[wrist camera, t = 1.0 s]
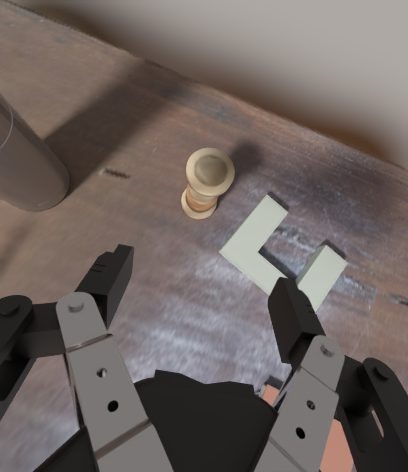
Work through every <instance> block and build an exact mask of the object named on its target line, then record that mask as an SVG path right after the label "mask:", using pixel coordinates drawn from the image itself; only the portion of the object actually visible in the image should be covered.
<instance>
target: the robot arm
mask: <svg viewBox="0 0 408 472" xmlns="http://www.w3.org/2000/svg"><path fill="white" fill-rule="evenodd" d="M69 186H70V177H69V173H68V170H67V168H66V167H65V166H64V164H63V163H62V162H61V161H60V160H59V158H58V157H57V156H56V155H55V154H54V153H53V152H52V150H51V149H50V148H49V147H48V146H47V145H46V144H45V143H44V141H43V140H42V139H41V138H40V137H39V136H38V135H37V134H36V133H35V131H34V130H33V129H32V128H31V127H30V126H29V125H28V124H27V123H26V121H25V120H24V119H23V118H22V117H21V116H20V115H19V114H18V112H17V111H16V110H15V109H14V108H13V107H12V106H11V105H10V104H9V102H8V101H7V100H6V99H5V98H4V97H3V96H2V95H1V94H0V199H1V200H3V201H5V202H8V203H10V204H12V205H14V206H16V207H18V208H20V209H23V210H26V211H43V210H47V209H49V208H51V207H53V206H55V205H57V204H58V203H59V202H60V201H61V200H62V199H63V198H64V197H65V195H66V193H67V192H68V189H69ZM133 255H134V247H131V246H126V245H121V244H119V245H118V246H117V248H116V250H115V251H114V253H112V252H105V253H103V254H102V255H100V256H99V257H98V258H97V260H96V261H95V262H94V265H92V267H91V268H90V271H88V273H87V274H86V275H85V277H84V278H83V280H82V281H81V283H80V284H79V286H78V287H77V289H76V290H75V291H74V292H73V293H70V294H67V295H65V296H64V297H62V298H61V299H60V300H59V301H58V302H55V303H45V304H32V301H31V299H29V298H28V297H26V296H22V295H12V296H7V297H4V298H1V299H0V421H1V419H2V417H3V416H4V414H5V412H6V410H7V409H8V407H9V405H10V404H11V402H12V400H13V398H14V397H15V395H16V393H17V392H18V390H19V388H20V386H21V385H22V383H23V381H24V380H25V378H26V376H27V374H28V373H29V371H30V369H31V368H32V366H33V364H34V362H35V361H36V359H37V358H39V357H46V356H53V355H60V354H62V356H63V360H64V364H65V369H66V373H67V377H68V381H69V386H70V390H71V395H72V400H73V405H74V410H75V415H76V419H77V423H78V428H79V430H78V431H77V432H76V433H75V434H74V435H73V436H72V437H71V438H70V439H68V440H67V441H66V442H65V443H64V444H63V445H62V446H61V447H60V448H59V449H57V450H56V451H55V452H54V453H53V454H52V455H51V456H50V457H49V458H47V459H46V460H45V461H44V462H43V463H42V464H41V465H40V466H39V467H38V468H36V469H35V470H34V471H33V472H321V470H320V465H321V461H322V458H323V454H324V450H325V447H326V443H327V439H328V436H329V432H330V428H331V425H332V421H333V418H334V414H335V410H337V413H338V416H339V419H340V422H341V425H342V428H343V431H344V434H345V437H346V440H347V443H348V446H349V449H350V452H351V455H352V458H353V461H354V464H355V467H356V470H357V472H408V395H407V393H406V391H405V390H404V388H403V386H402V385H401V383H400V381H399V380H398V378H397V376H396V375H395V373H394V372H393V371H392V370H391V369H390V368H389V367H388V366H387V365H386V364H384V363H383V362H381V361H379V360H377V359H375V358H366V359H365V360H364V361H363V362H362V363H361V362H359V361H356V360H354V359H352V358H350V357H348V356H346V355H344V353H343V351H342V349H341V348H340V346H339V345H338V344H337V343H336V342H335V341H333V340H332V339H330V338H328V337H326V335H325V333H324V330H323V328H322V326H321V324H320V322H319V320H318V317H317V315H316V314H315V311H314V309H313V307H312V304H311V302H310V300H309V298H308V297H307V296H306V294H305V293H304V292H303V291H302V290H299V289H298V286H297V284H296V282H295V280H294V279H289V278H284V277H279V278H278V280H277V282H276V284H275V286H274V288H273V290H272V292H271V294H270V296H269V298H268V309H269V313H270V317H271V321H272V325H273V329H274V333H275V337H276V341H277V345H278V349H279V353H280V357H281V361H282V363H287V364H291V367H292V369H291V370H290V372H289V374H288V376H287V377H286V379H285V381H284V383H283V385H282V387H281V389H280V391H279V393H278V395H277V397H276V399H275V400H274V402H273V404H272V406H271V405H270V404H269V403H268V402H267V401H265V400H264V399H263V398H261V397H259V396H258V395H256V394H254V388H253V385H250V384H244V383H237V382H231V381H228V382H220V383H212V384H203V383H201V382H198V381H196V380H194V379H192V378H189V377H187V376H185V375H183V374H180V373H174V372H168V371H162V370H156V371H155V375H154V377H153V378H147V379H143V380H140V381H138V382H135V383H133V382H132V379H131V377H130V375H129V372H128V370H127V367H126V365H125V363H124V360H123V358H122V355H121V353H120V351H119V348H118V346H117V343H116V341H115V339H114V337H113V335H112V334H108V332H107V330H108V328H109V326H110V324H111V321H112V319H113V317H114V315H115V312H116V310H117V308H118V305H119V303H120V301H121V299H122V296H123V294H124V292H125V290H126V287H127V285H128V283H129V280H130V277H131V273H132V266H133ZM373 410H375V412H376V415H377V417H378V419H379V421H380V423H381V426H382V428H383V432H384V438H383V437H382V435H381V433H380V430H379V428H378V426H377V424H376V421H375V419H374V417H373V415H372V412H371V411H373Z"/></svg>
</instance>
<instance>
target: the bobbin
mask: <svg viewBox="0 0 408 472" xmlns="http://www.w3.org/2000/svg"><path fill="white" fill-rule="evenodd" d="M234 175H235V169H234V165H233V163H232V161H231V159H230V158H229V157H228V156H227V155H226V154H225V153H224V152H222V151H220V150H218V149H215V148H203V149H200V150H198V151H196V152H195V153H193V154H192V155H191V157H190V158H189V160H188V163H187V167H186V179H187V182H188V186H187V189H186V190H185V191H184V193H183V195H182V200H181V206H182V209H183V211H184V212H185V214H186V215H187V216H189V217H190V218H192V219H196V220H202V219H206V218H208V217H209V216H210V215H211V214H212V213H213V212H214V210H215V208H216V205H217V199H218V196H219V195H221V194H223V193H224V192H225V191H226V190H227V189H228V188H229V187H230V185H231V183H232V182H233V179H234Z"/></svg>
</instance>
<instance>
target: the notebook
mask: <svg viewBox="0 0 408 472" xmlns="http://www.w3.org/2000/svg"><path fill="white" fill-rule="evenodd" d="M279 391H280V390H278V389H276V388H274V387H272V386H270V385H268V384H267V386H266V385H264V384H263V386H262V388H261V391H260V393H259V397H261V398H263V399H264V400H265V401H267V402H268V403H269V404H270V405H271V406H272V404H273V402H274V400H275V399H276V397H277V395H278V393H279ZM353 462H354V461H353V458H352V455H351V452H350V449H349V446H348V443H347V440H346V437H345V434H344V431H343V428H342V425H341V422H340V421H338V420H336V419H334V418H333V421H332V425H331V428H330V432H329V436H328V439H327V443H326V447H325V450H324V454H323V458H322V461H321V465H320V470H321V472H351V469H352V466H353Z"/></svg>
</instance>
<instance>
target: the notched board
mask: <svg viewBox="0 0 408 472" xmlns="http://www.w3.org/2000/svg"><path fill="white" fill-rule="evenodd" d="M287 213H288V212H287V211H286V210H285V209H284V208H282V207H281V206H280V205H279V204H278V203H277V202H275V201H274V200H273V199H272V198H271V197H270V196H268V195H266V196H265V197H263V198H262V199H261V201H260V202H259V203H258V204H257V206H256V207H255V208H254V209H253V210H252V212H251V213H250V214H249V215H248V216H247V218H246V219H245V220H244V221H243V222H242V224H241V225H240V226H239V227H238V228H237V230H236V231H235V232H234V233H233V235H232V236H231V237H230V238H229V239H228V241H227V242H226V243H225V244H224V245H223V247H222V248H221V249H220V250H219V251H218V252H219V253H220V254H222V255H223V256H224V257H225V258H226V259H227V260H229V261H230V262H231V263H232V264H233V265H234V266H236V267H237V268H238V269H239V270H240V271H241V272H243V273H244V274H245V275H246V276H247V277H248V278H250V279H251V280H252V281H253V282H254V283H255V284H257V285H258V286H259V287H260V288H261V289H262V290H264V291H265V292H266V293H267V294H268V295H269V296H270V294H271V292H272V290H273V288H274V286H275V284H276V282H277V280H278V278H279V277H284V278H287V277H286V276H285V275H284V274H282V273H281V272H280V271H279V270H278V269H277V268H275V267H274V266H273V265H272V264H271V263H270V262H268V261H267V260H266V259H265V258H264V257H263V256H261V255H260V254H259V253H258V251H259V249H260V248H261V247H262V246H263V244H264V243H265V242H266V240H267V239H268V238H269V237H270V235H271V234H272V233H273V231H274V230H275V229H276V228H277V226H278V225H279V224H280V222H281V221H282V220H283V219H284V217H285V216H286V215H287ZM346 265H347V262H346V261H345V260H343V259H342V258H341V257H340V256H339V255H338V254H336V253H335V252H334V251H333V250H332V249H331V248H329V247H328V246H327V245H323V246H319V247H318V248H317V250H316V251H315V253H314V254H313V255H312V257H311V258H310V260H309V261H308V262H307V264H306V265H305V267H304V268H303V270H302V271H301V272H300V274H299V275H298V277H297V278H296V279H295V282H296V284H297V286H298V289H299V290H302V291H303V292H304V293H305V294H306V296H307V297H308V298H309V300H310V302H311V304H312V307H313V309H314V311H315V312H316V310H317V309H318V307H319V306H320V304H321V303H322V301H323V300H324V298H325V297H326V295H327V294H328V292H329V291H330V289H331V288H332V286H333V285H334V283H335V282H336V280H337V278H338V277H339V275H340V274H341V272H342V271H343V269H344V268H345V266H346Z"/></svg>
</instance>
